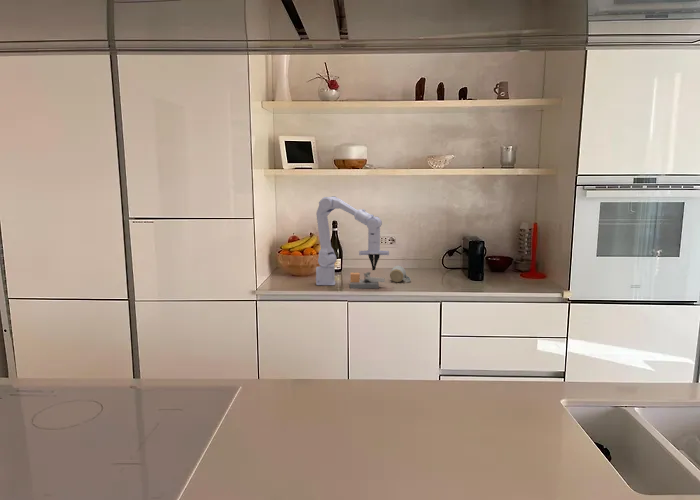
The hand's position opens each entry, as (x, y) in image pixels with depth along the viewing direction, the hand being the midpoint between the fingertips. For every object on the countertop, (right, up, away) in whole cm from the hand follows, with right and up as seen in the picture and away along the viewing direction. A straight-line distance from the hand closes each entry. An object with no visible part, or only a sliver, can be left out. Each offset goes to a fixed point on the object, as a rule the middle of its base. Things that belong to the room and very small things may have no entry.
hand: (373, 269), depth 249 cm
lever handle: (0, -6, +5) cm, 8 cm away
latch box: (-4, -8, +6) cm, 11 cm away
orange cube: (-9, -6, +7) cm, 13 cm away
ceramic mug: (+15, -7, +17) cm, 24 cm away
